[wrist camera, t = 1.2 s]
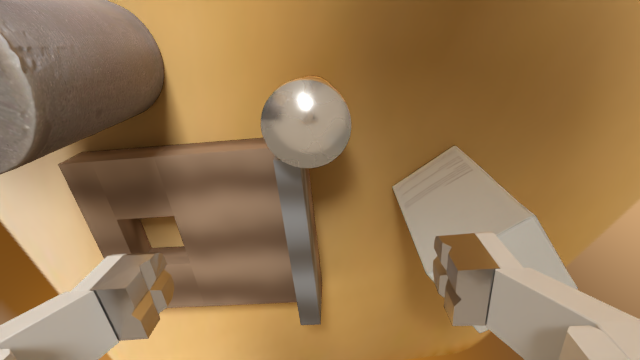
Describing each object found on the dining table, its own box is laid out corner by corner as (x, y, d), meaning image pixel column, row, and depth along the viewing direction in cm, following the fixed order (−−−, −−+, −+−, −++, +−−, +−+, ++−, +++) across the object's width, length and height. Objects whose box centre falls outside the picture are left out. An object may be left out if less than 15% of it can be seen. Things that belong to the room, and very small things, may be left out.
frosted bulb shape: (273, 69, 27) (253, 84, 20) (343, 62, 27) (348, 75, 20) (283, 136, 30) (268, 171, 23) (347, 130, 29) (353, 165, 22)
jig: (81, 152, 31) (29, 178, 26) (304, 134, 30) (299, 158, 24) (143, 289, 39) (112, 332, 33) (321, 281, 37) (320, 324, 32)
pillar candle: (110, 134, 30) (-65, 221, 17) (23, 36, 27) (-289, 47, 13) (188, 81, 28) (61, 133, 14) (106, -33, 24) (-168, -107, 11)
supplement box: (428, 233, 34) (476, 338, 23) (389, 185, 32) (423, 274, 20) (492, 197, 32) (582, 291, 20) (457, 141, 29) (536, 214, 18)
